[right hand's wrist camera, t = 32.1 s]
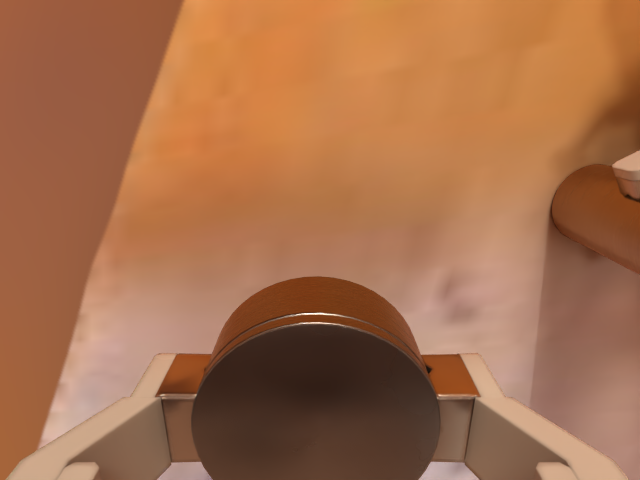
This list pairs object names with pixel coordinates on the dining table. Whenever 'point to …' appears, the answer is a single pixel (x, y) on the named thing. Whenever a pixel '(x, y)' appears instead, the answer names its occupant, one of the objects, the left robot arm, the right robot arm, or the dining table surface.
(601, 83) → the dining table surface
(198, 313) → the dining table surface
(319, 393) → the lid
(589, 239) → the brown cylinder
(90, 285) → the dining table surface
